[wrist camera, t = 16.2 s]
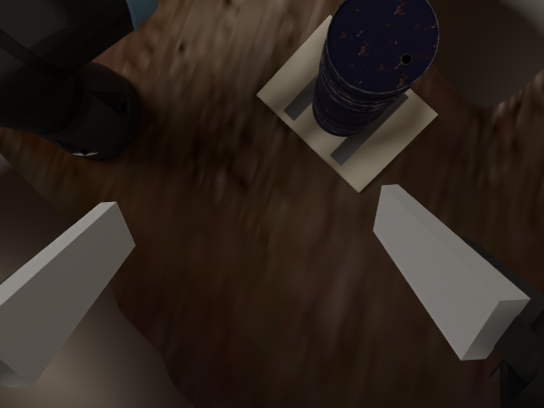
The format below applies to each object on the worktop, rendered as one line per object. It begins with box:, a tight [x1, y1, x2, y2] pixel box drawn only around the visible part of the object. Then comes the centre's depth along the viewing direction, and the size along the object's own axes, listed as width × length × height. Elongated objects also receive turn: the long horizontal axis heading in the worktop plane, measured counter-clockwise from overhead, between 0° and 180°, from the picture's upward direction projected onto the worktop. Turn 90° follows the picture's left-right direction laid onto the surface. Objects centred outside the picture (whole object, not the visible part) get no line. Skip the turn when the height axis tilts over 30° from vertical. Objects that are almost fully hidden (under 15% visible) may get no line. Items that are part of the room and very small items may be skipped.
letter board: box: [257, 15, 438, 193], centre depth 36 cm, size 22×16×1 cm
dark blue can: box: [312, 0, 439, 137], centre depth 28 cm, size 10×10×15 cm
